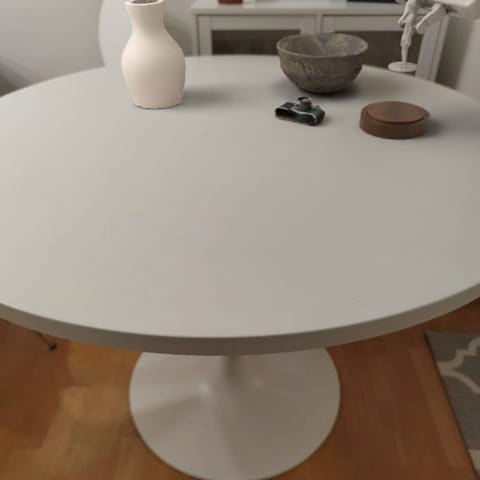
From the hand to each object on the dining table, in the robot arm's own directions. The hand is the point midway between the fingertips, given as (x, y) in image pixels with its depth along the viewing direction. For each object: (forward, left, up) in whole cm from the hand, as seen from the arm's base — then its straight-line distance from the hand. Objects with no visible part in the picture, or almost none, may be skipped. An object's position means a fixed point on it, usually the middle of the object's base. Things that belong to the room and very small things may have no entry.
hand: (409, 29), depth 79 cm
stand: (-1, -1, -17) cm, 17 cm away
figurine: (0, -1, -7) cm, 7 cm away
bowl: (+10, -25, -18) cm, 32 cm away
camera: (+17, -7, -18) cm, 26 cm away
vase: (+48, -22, -18) cm, 56 cm away
